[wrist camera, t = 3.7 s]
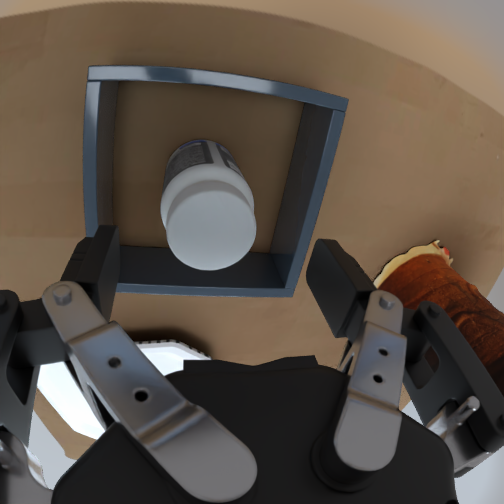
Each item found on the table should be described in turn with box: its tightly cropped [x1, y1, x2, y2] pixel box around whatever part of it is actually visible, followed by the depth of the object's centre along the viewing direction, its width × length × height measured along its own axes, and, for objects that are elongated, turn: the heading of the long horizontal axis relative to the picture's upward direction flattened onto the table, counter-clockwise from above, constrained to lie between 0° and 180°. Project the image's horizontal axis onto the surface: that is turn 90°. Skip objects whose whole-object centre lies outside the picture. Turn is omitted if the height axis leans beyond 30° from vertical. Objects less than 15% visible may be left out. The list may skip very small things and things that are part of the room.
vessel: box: [373, 240, 504, 397], centre depth 24 cm, size 14×14×20 cm
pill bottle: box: [160, 140, 256, 270], centre depth 17 cm, size 5×5×8 cm
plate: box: [37, 339, 213, 439], centre depth 31 cm, size 21×21×2 cm
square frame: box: [83, 65, 349, 297], centre depth 19 cm, size 14×14×4 cm
